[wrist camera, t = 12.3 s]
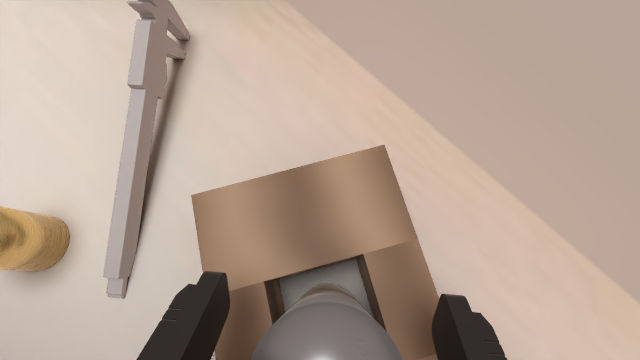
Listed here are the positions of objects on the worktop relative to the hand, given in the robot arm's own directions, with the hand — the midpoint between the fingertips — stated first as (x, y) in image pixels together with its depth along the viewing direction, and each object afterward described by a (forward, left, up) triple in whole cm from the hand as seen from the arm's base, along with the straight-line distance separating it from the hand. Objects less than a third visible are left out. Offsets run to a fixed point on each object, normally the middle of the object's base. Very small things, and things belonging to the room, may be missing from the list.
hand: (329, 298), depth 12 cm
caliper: (-10, +13, -9) cm, 18 cm away
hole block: (0, -1, -8) cm, 8 cm away
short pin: (-18, +8, -8) cm, 21 cm away
